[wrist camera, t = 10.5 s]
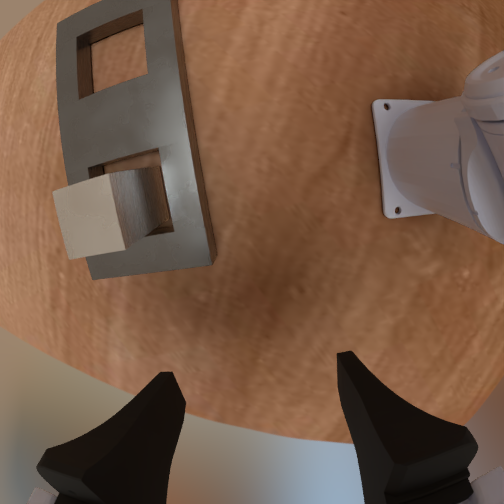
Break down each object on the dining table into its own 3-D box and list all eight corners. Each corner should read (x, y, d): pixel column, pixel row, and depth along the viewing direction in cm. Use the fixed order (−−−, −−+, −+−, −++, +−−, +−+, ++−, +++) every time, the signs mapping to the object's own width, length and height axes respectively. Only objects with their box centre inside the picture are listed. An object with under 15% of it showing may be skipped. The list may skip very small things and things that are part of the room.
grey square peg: (159, 165, 19) (108, 173, 12) (169, 218, 20) (125, 249, 13) (113, 177, 19) (52, 191, 12) (124, 227, 20) (69, 259, 13)
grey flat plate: (176, -12, 14) (168, -25, 12) (217, 254, 20) (212, 265, 18) (70, 30, 15) (57, 23, 13) (105, 269, 21) (92, 279, 19)
